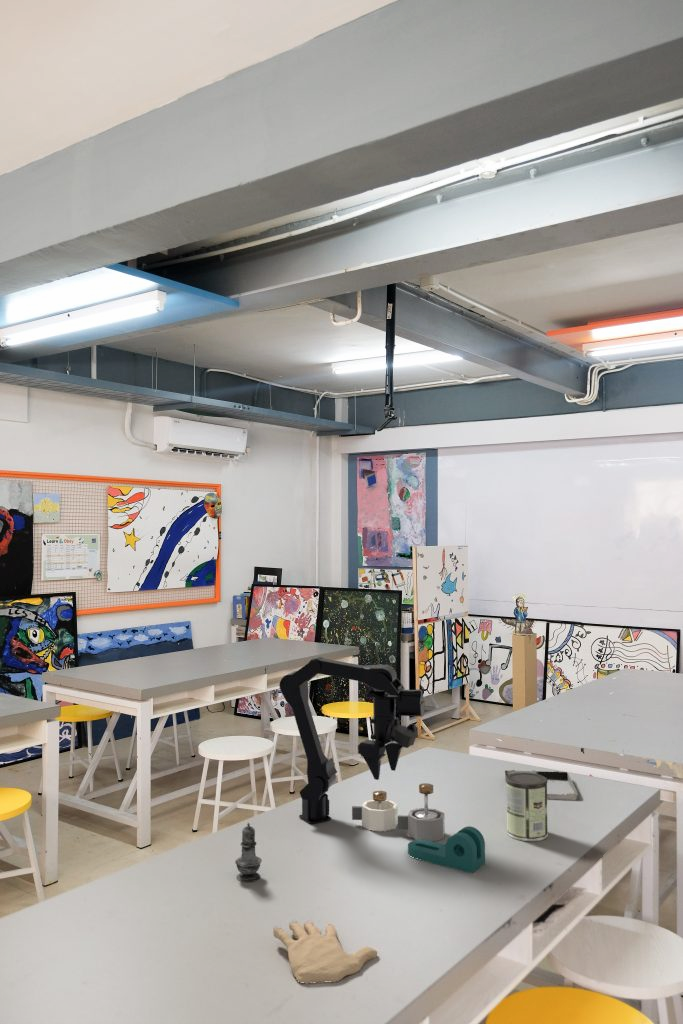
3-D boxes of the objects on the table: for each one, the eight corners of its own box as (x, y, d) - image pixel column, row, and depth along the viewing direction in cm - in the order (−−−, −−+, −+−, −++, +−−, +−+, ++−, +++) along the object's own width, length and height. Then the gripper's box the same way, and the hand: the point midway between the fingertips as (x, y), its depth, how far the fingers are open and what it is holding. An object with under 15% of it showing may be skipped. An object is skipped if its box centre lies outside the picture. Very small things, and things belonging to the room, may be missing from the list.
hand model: (273, 973, 140) (273, 904, 159) (272, 998, 140) (272, 926, 160) (384, 973, 141) (370, 905, 161) (382, 998, 142) (368, 927, 162)
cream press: (369, 835, 209) (369, 814, 209) (350, 824, 216) (350, 804, 216) (403, 826, 214) (403, 806, 214) (383, 816, 222) (383, 797, 222)
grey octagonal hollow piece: (417, 845, 202) (417, 824, 202) (395, 834, 209) (395, 813, 209) (451, 837, 207) (450, 816, 207) (429, 826, 215) (428, 806, 215)
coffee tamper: (424, 821, 205) (424, 790, 205) (410, 815, 210) (410, 784, 210) (441, 817, 208) (441, 786, 208) (428, 811, 212) (428, 780, 213)
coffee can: (519, 823, 216) (519, 769, 217) (555, 833, 209) (555, 777, 210) (498, 834, 209) (498, 778, 209) (534, 845, 202) (534, 787, 202)
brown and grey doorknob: (376, 828, 212) (376, 797, 212) (364, 821, 216) (364, 791, 217) (394, 823, 215) (394, 793, 215) (382, 817, 219) (382, 788, 220)
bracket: (485, 863, 191) (484, 829, 191) (472, 873, 186) (472, 838, 186) (416, 847, 201) (416, 814, 201) (402, 856, 196) (402, 822, 196)
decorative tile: (578, 805, 235) (571, 781, 254) (578, 794, 235) (571, 771, 254) (506, 801, 238) (504, 778, 258) (506, 791, 238) (504, 768, 258)
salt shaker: (240, 884, 180) (240, 829, 180) (231, 874, 185) (231, 820, 185) (265, 879, 182) (265, 824, 182) (255, 869, 187) (255, 816, 188)
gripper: (395, 725, 203) (396, 789, 203) (427, 710, 219) (428, 770, 219) (356, 720, 209) (357, 782, 209) (390, 706, 225) (391, 764, 225)
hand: (385, 774), depth 215 cm, fingers open, 9 cm apart
